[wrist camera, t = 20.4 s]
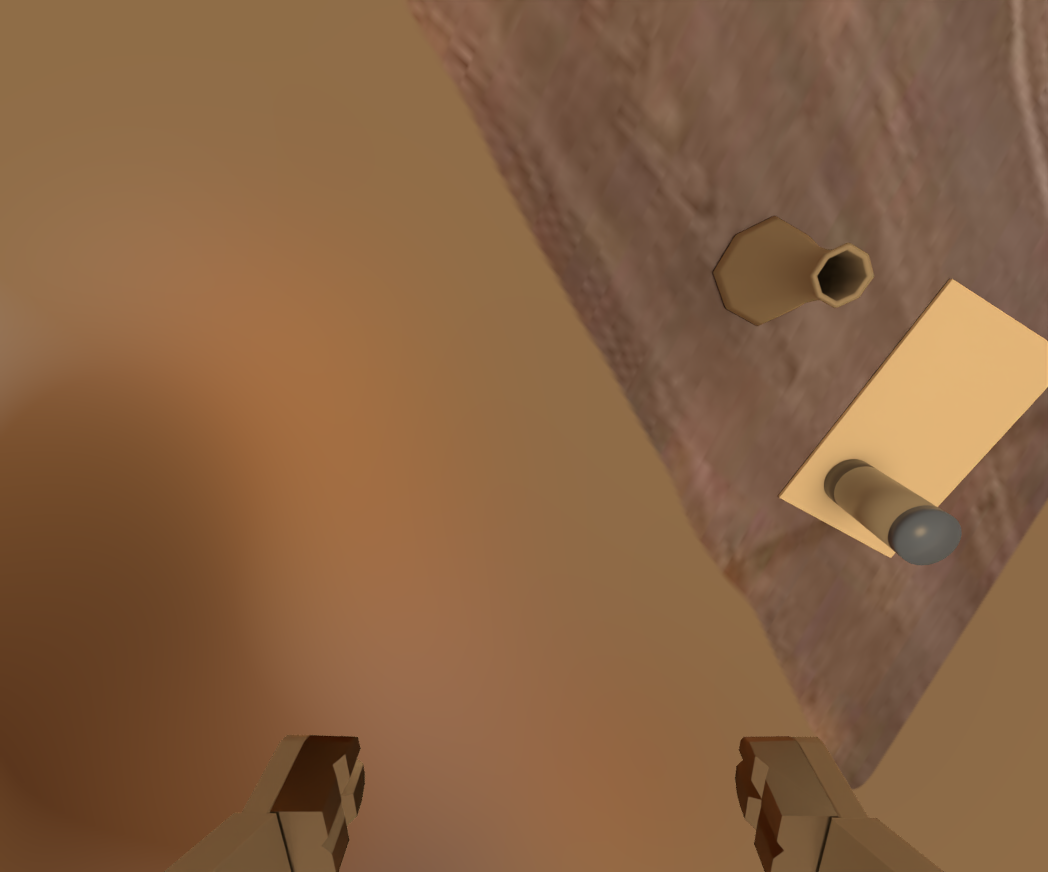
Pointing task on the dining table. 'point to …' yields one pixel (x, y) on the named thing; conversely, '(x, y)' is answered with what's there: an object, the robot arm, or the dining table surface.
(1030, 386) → the paper
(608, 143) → the dining table surface
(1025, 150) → the dining table surface
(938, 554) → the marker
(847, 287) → the flask
